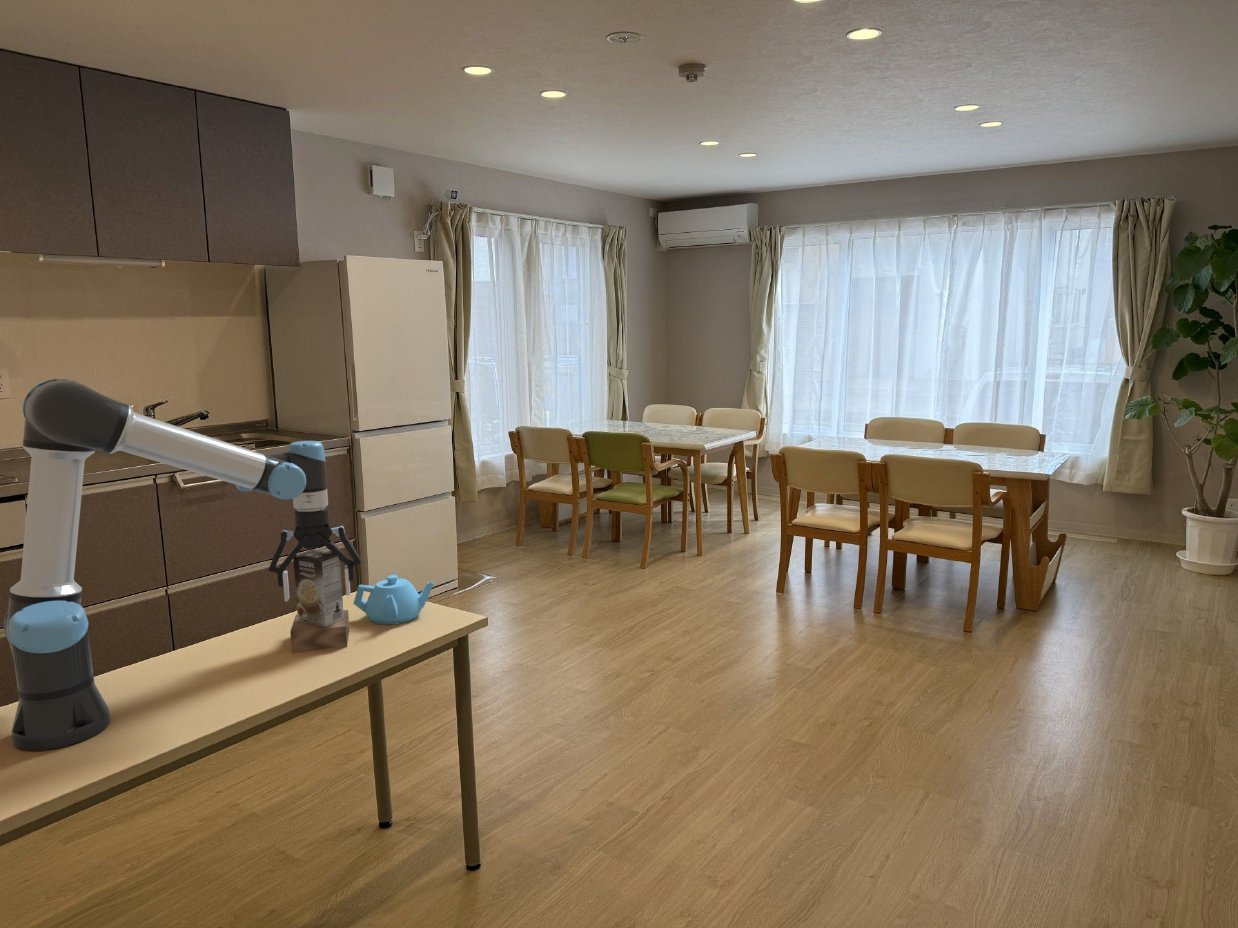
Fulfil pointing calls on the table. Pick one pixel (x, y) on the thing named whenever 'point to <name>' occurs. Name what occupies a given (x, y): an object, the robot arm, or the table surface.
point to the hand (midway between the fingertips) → (318, 596)
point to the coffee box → (318, 587)
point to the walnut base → (319, 635)
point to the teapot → (392, 600)
